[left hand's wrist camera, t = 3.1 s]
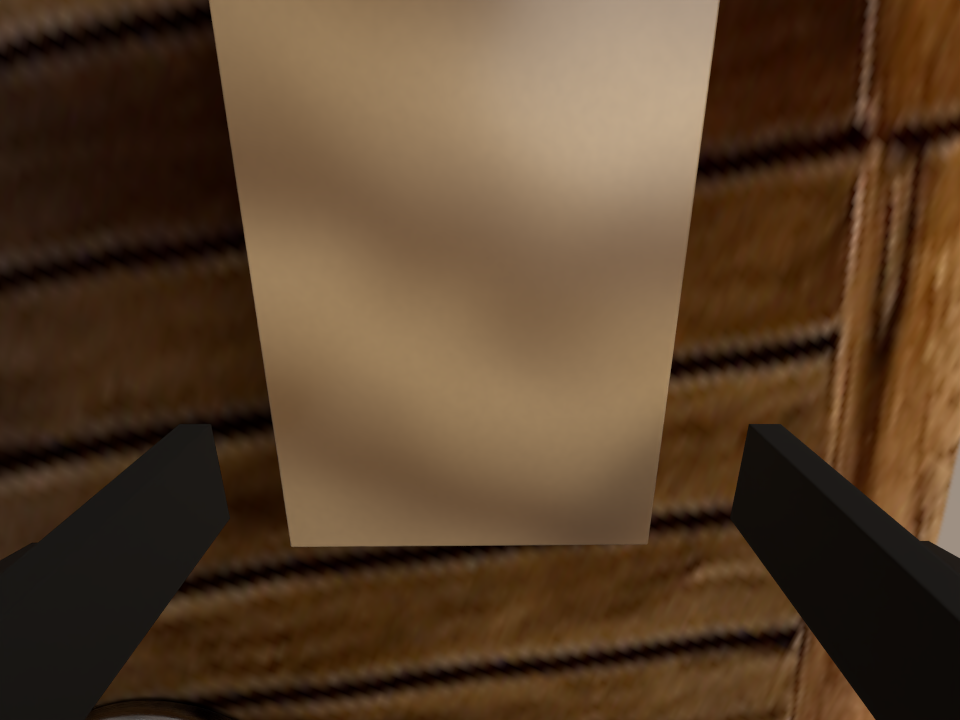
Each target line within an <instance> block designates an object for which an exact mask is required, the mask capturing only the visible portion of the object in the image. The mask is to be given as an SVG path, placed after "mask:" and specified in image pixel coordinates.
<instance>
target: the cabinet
mask: <svg viewBox="0 0 960 720" xmlns="http://www.w3.org/2000/svg"><path fill="white" fill-rule="evenodd" d="M719 3H720V0H209V4H210V11H211V17H212V24H213V30H214V37H215V44H216V50H217V57H218V64H219V70H220V77H221V84H222V90H223V97H224V103H225V110H226V117H227V123H228V130H229V137H230V143H231V150H232V157H233V163H234V170H235V177H236V183H237V190H238V196H239V203H240V210H241V216H242V223H243V230H244V236H245V243H246V250H247V256H248V263H249V270H250V276H251V283H252V289H253V296H254V303H255V309H256V316H257V323H258V329H259V336H260V343H261V349H262V356H263V363H264V369H265V376H266V382H267V389H268V396H269V402H270V409H271V416H272V422H273V429H274V436H275V442H276V449H277V456H278V462H279V469H280V475H281V482H282V489H283V495H284V502H285V509H286V515H287V522H288V529H289V535H290V542H291V546H292V547H343V546H477V545H611V544H647V543H648V536H649V528H650V521H651V513H652V506H653V498H654V491H655V483H656V476H657V468H658V461H659V453H660V446H661V438H662V431H663V423H664V416H665V408H666V401H667V393H668V386H669V378H670V371H671V363H672V356H673V348H674V341H675V333H676V326H677V318H678V311H679V303H680V296H681V288H682V281H683V273H684V266H685V258H686V250H687V243H688V235H689V228H690V220H691V213H692V205H693V198H694V190H695V183H696V175H697V168H698V160H699V153H700V145H701V138H702V130H703V123H704V115H705V108H706V100H707V93H708V85H709V78H710V70H711V63H712V55H713V48H714V40H715V33H716V25H717V18H718V10H719Z"/></svg>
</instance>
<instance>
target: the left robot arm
mask: <svg viewBox="0 0 960 720" xmlns="http://www.w3.org/2000/svg"><path fill="white" fill-rule="evenodd" d="M229 519H230V517H229V512H228V507H227V502H226V497H225V492H224V487H223V482H222V477H221V472H220V467H219V462H218V457H217V452H216V447H215V442H214V437H213V432H212V427H211V424H179V425H178V426H177V427H176V428H174V429H173V430H172V431H171V432H170V433H168V434H167V435H166V436H165V437H164V438H162V439H161V440H160V441H159V442H158V443H156V444H155V445H154V446H153V447H152V448H151V449H149V450H148V451H147V452H146V453H145V454H143V455H142V456H141V457H140V458H139V459H137V460H136V461H135V462H134V463H133V464H131V465H130V466H129V467H128V468H127V469H125V470H124V471H123V472H122V473H121V474H120V475H118V476H117V477H116V478H115V479H114V480H112V481H111V482H110V483H109V484H108V485H106V486H105V487H104V488H103V489H102V490H100V491H99V492H98V493H97V494H96V495H94V496H93V497H92V498H91V499H90V500H88V501H87V502H86V503H85V504H84V505H83V506H81V507H80V508H79V509H78V510H77V511H75V512H74V513H73V514H72V515H71V516H69V517H68V518H67V519H66V520H65V521H63V522H62V523H61V524H60V525H59V526H57V527H56V528H55V529H54V530H53V531H52V532H50V533H49V534H48V535H47V536H46V537H44V538H43V539H42V540H41V541H40V542H38V543H31V544H29V545H27V546H26V547H24V548H22V549H20V550H18V551H17V552H15V553H13V554H11V555H9V556H8V557H6V558H4V559H2V560H0V720H232V719H230V718H227V717H225V716H223V715H220V714H218V713H215V712H212V711H209V710H206V709H203V708H199V707H195V706H191V705H187V704H181V703H175V702H166V701H129V702H121V703H116V704H111V705H107V706H103V707H100V708H97V709H94V710H92V708H93V707H94V706H95V704H96V703H97V701H98V700H99V699H100V697H101V696H102V695H103V693H104V692H105V690H106V689H107V688H108V686H109V685H110V683H111V682H112V681H113V679H114V678H115V677H116V675H117V674H118V672H119V671H120V670H121V668H122V667H123V665H124V664H125V663H126V661H127V660H128V659H129V657H130V656H131V654H132V653H133V652H134V650H135V649H136V648H137V646H138V645H139V643H140V642H141V641H142V639H143V638H144V636H145V635H146V634H147V632H148V631H149V630H150V628H151V627H152V625H153V624H154V623H155V621H156V620H157V618H158V617H159V616H160V614H161V613H162V612H163V610H164V609H165V607H166V606H167V605H168V603H169V602H170V600H171V599H172V598H173V596H174V595H175V594H176V592H177V591H178V589H179V588H180V587H181V585H182V584H183V582H184V581H185V580H186V578H187V577H188V576H189V574H190V573H191V571H192V570H193V569H194V567H195V566H196V565H197V563H198V562H199V560H200V559H201V558H202V556H203V555H204V553H205V552H206V551H207V549H208V548H209V547H210V545H211V544H212V542H213V541H214V540H215V538H216V537H217V535H218V534H219V533H220V531H221V530H222V529H223V527H224V526H225V524H226V523H227V522H228V520H229ZM730 519H731V520H732V522H733V523H734V524H735V526H736V527H737V529H738V530H739V531H740V533H741V534H742V535H743V537H744V538H745V540H746V541H747V542H748V544H749V545H750V547H751V548H752V549H753V551H754V552H755V553H756V555H757V556H758V558H759V559H760V560H761V562H762V563H763V565H764V566H765V567H766V569H767V570H768V571H769V573H770V574H771V576H772V577H773V578H774V580H775V581H776V582H777V584H778V585H779V587H780V588H781V589H782V591H783V592H784V594H785V595H786V596H787V598H788V599H789V600H790V602H791V603H792V605H793V606H794V607H795V609H796V610H797V612H798V613H799V614H800V616H801V617H802V618H803V620H804V621H805V623H806V624H807V625H808V627H809V628H810V630H811V631H812V632H813V634H814V635H815V636H816V638H817V639H818V641H819V642H820V643H821V645H822V646H823V648H824V649H825V650H826V652H827V653H828V654H829V656H830V657H831V659H832V660H833V661H834V663H835V664H836V665H837V667H838V668H839V670H840V671H841V672H842V674H843V675H844V677H845V678H846V679H847V681H848V682H849V683H850V685H851V686H852V688H853V689H854V690H855V692H856V693H857V695H858V696H859V697H860V699H861V700H862V701H863V703H864V704H865V706H866V707H867V708H868V710H869V711H870V713H871V714H872V715H873V717H874V718H875V719H876V720H960V558H958V557H956V556H955V555H953V554H951V553H949V552H947V551H946V550H944V549H942V548H940V547H938V546H937V545H935V544H933V543H931V542H929V541H919V540H918V539H917V538H916V537H914V536H913V535H912V534H911V533H910V532H908V531H907V530H906V529H905V528H904V527H903V526H901V525H900V524H899V523H898V522H897V521H895V520H894V519H893V518H892V517H891V516H889V515H888V514H887V513H886V512H885V511H883V510H882V509H881V508H880V507H879V506H877V505H876V504H875V503H874V502H873V501H872V500H870V499H869V498H868V497H867V496H866V495H864V494H863V493H862V492H861V491H860V490H858V489H857V488H856V487H855V486H854V485H852V484H851V483H850V482H849V481H848V480H846V479H845V478H844V477H843V476H842V475H840V474H839V473H838V472H837V471H836V470H835V469H833V468H832V467H831V466H830V465H829V464H827V463H826V462H825V461H824V460H823V459H821V458H820V457H819V456H818V455H817V454H815V453H814V452H813V451H812V450H811V449H809V448H808V447H807V446H806V445H805V444H804V443H802V442H801V441H800V440H799V439H798V438H796V437H795V436H794V435H793V434H792V433H790V432H789V431H788V430H787V429H786V428H784V427H783V426H782V425H781V424H749V427H748V432H747V437H746V442H745V447H744V452H743V457H742V462H741V467H740V472H739V477H738V482H737V487H736V492H735V497H734V502H733V507H732V512H731V517H730ZM91 710H92V711H91Z"/></svg>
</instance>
